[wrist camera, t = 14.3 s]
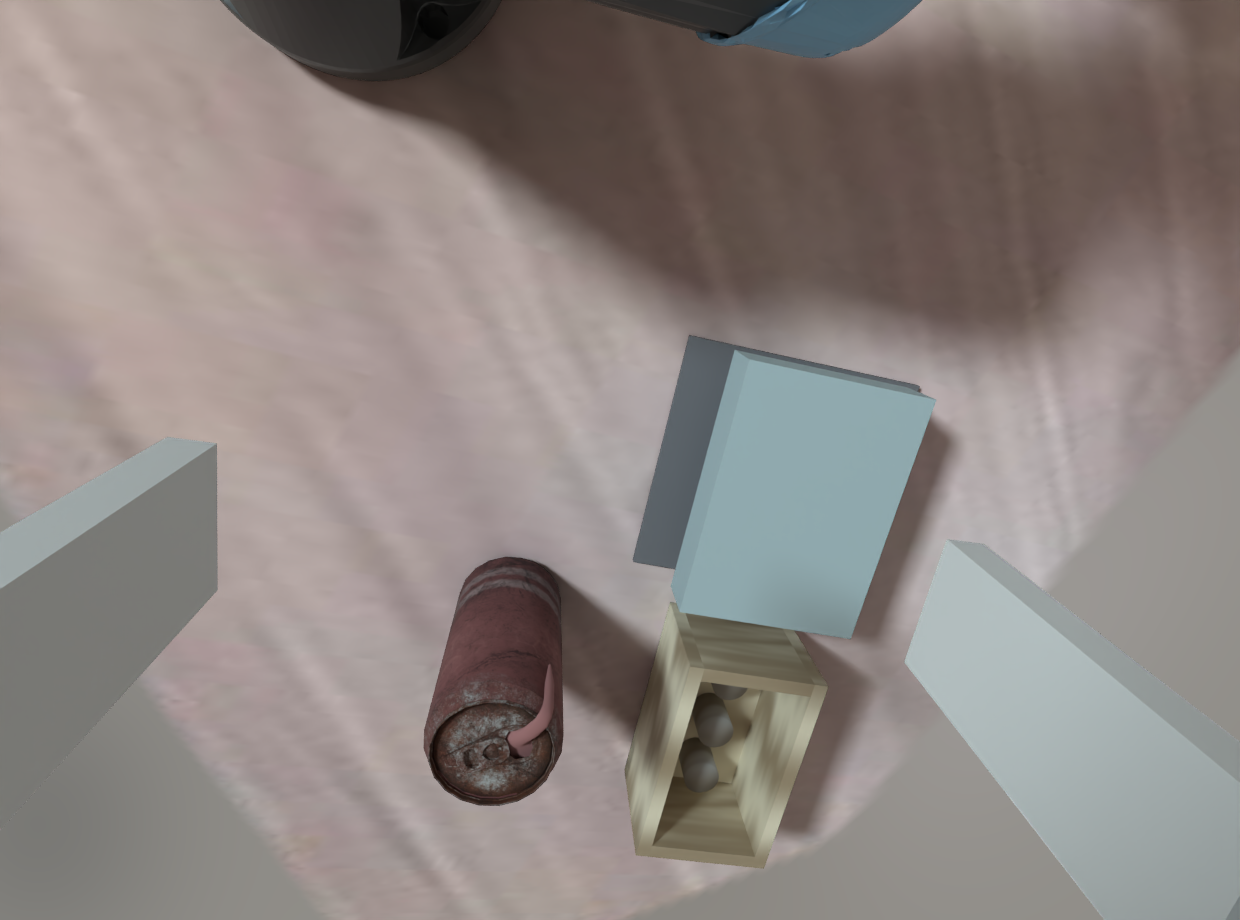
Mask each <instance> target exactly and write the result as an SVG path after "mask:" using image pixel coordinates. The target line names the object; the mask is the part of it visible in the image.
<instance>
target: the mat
mask: <svg viewBox="0 0 1240 920" xmlns="http://www.w3.org/2000/svg"><path fill="white" fill-rule="evenodd" d="M735 350H738V351H743V352H747V353H752V354H756V355H761V356H765V357H770V358H775V359H779V360H784V361H788V362H793V363H797V364H802V365H807V366H811V367H816V368H820V369H825V370H830V371H834V372H839V373H843V374H848V375H852V376H857V377H862V378H866V379H871V380H875V381H880V382H885V383H889V384H894V385H898V386H903V387H907V388H910V389H912V390H915V391H917V392H918V390H919V387H920V386H918V385H914V384H910V383H905V382H901V381H896V380H892V379H887V378H883V377H878V376H873V375H869V374H864V373H860V372H855V371H851V370H846V369H842V368H837V367H832V366H828V365H823V364H819V363H814V362H810V361H805V360H801V359H796V358H791V357H787V356H782V355H778V354H773V353H769V352H764V351H759V350H755V349H750V348H746V347H741V346H737V345H732V344H728V343H723V342H718V341H714V340H709V339H705V338H700V337H696V336H691V335H689V338H688V342H687V346H686V350H685V354H684V358H683V362H682V366H681V370H680V374H679V378H678V382H677V386H676V390H675V394H674V398H673V402H672V406H671V410H670V413H669V417H668V421H667V425H666V429H665V433H664V437H663V441H662V445H661V449H660V453H659V457H658V461H657V465H656V469H655V473H654V477H653V481H652V485H651V489H650V493H649V497H648V501H647V505H646V509H645V513H644V517H643V521H642V525H641V529H640V533H639V537H638V541H637V545H636V549H635V553H634V557H633V561H634V562H637V563H643V564H649V565H655V566H661V567H667V568H673V569H676V565H677V561H678V558H679V554H680V550H681V547H682V543H683V539H684V536H685V532H686V528H687V524H688V521H689V517H690V513H691V510H692V506H693V502H694V499H695V495H696V491H697V487H698V484H699V480H700V476H701V473H702V469H703V465H704V462H705V458H706V454H707V450H708V447H709V443H710V439H711V436H712V432H713V428H714V425H715V421H716V417H717V413H718V410H719V406H720V402H721V399H722V395H723V391H724V388H725V384H726V380H727V376H728V373H729V369H730V365H731V362H732V358H733V354H734V351H735Z"/></svg>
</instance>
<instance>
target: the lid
mask: <svg viewBox="0 0 1240 920" xmlns="http://www.w3.org/2000/svg"><path fill="white" fill-rule="evenodd" d="M935 402H936V400H935V399H933V398H931V397H928V396H926V395H924V394H922V393H919V392H917V391H915V390H912V389H910V388H907V387H903V386H898V385H894V384H889V383H885V382H880V381H875V380H871V379H866V378H862V377H857V376H852V375H848V374H843V373H839V372H834V371H830V370H825V369H820V368H816V367H811V366H807V365H802V364H797V363H793V362H788V361H784V360H779V359H775V358H770V357H765V356H761V355H756V354H752V353H747V352H743V351H738V350H735V351H734V354H733V358H732V362H731V365H730V369H729V373H728V376H727V380H726V384H725V388H724V391H723V395H722V399H721V402H720V406H719V410H718V413H717V417H716V421H715V425H714V428H713V432H712V436H711V439H710V443H709V447H708V450H707V454H706V458H705V462H704V465H703V469H702V473H701V476H700V480H699V484H698V487H697V491H696V495H695V499H694V502H693V506H692V510H691V513H690V517H689V521H688V524H687V528H686V532H685V536H684V539H683V543H682V547H681V550H680V554H679V558H678V561H677V565H676V569H675V572H674V576H673V580H672V584H671V588H672V591H673V594H674V597H675V600H676V603H677V606H678V609H679V612H682V613H689V614H695V615H701V616H708V617H714V618H720V619H727V620H733V621H739V622H745V623H752V624H758V625H764V626H771V627H777V628H783V629H790V630H796V631H802V632H809V633H815V634H821V635H828V636H834V637H840V638H847V639H851V636H852V634H853V631H854V628H855V625H856V622H857V620H858V617H859V614H860V611H861V608H862V606H863V603H864V600H865V597H866V594H867V592H868V589H869V586H870V583H871V581H872V578H873V575H874V572H875V569H876V567H877V564H878V561H879V558H880V555H881V553H882V550H883V547H884V544H885V541H886V539H887V536H888V533H889V530H890V528H891V525H892V522H893V519H894V516H895V514H896V511H897V508H898V505H899V502H900V500H901V497H902V494H903V491H904V488H905V486H906V483H907V480H908V477H909V475H910V472H911V469H912V466H913V463H914V461H915V458H916V455H917V452H918V449H919V447H920V444H921V441H922V438H923V436H924V433H925V430H926V427H927V424H928V422H929V419H930V416H931V413H932V410H933V408H934V405H935Z"/></svg>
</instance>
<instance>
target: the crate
mask: <svg viewBox="0 0 1240 920" xmlns="http://www.w3.org/2000/svg"><path fill="white" fill-rule="evenodd" d="M827 690H828V685H827V684H826V682H825V680H824V679H823V677H822V675H821V674H820V672H819V670H818V669H817V667H816V665H815V664H814V662H813V660H812V659H811V657H810V655H809V654H808V652H807V651H806V649H805V647H804V646H803V644H802V642H801V641H800V639H799V637H798V636H797V634H796V632H795V631H794V630H790V629H783V628H777V627H771V626H764V625H758V624H752V623H745V622H739V621H733V620H727V619H720V618H714V617H708V616H701V615H695V614H689V613H682V612H679V609H678V606H677V603H671V602H670V605H669V608H668V612H667V616H666V619H665V623H664V627H663V630H662V634H661V638H660V641H659V645H658V649H657V652H656V656H655V660H654V663H653V667H652V671H651V674H650V678H649V682H648V686H647V689H646V693H645V697H644V700H643V704H642V708H641V711H640V715H639V719H638V722H637V726H636V730H635V733H634V737H633V741H632V744H631V748H630V752H629V755H628V759H627V763H626V766H625V777H626V785H627V792H628V800H629V807H630V815H631V823H632V830H633V838H634V845H635V853H636V855H638V856H648V857H657V858H667V859H677V860H686V861H696V862H706V863H715V864H725V865H735V866H744V867H754V868H764V866H765V864H766V861H767V858H768V855H769V852H770V850H771V847H772V844H773V841H774V838H775V836H776V833H777V830H778V827H779V824H780V822H781V819H782V816H783V813H784V810H785V808H786V805H787V802H788V799H789V796H790V793H791V791H792V788H793V785H794V782H795V779H796V777H797V774H798V771H799V768H800V765H801V763H802V760H803V757H804V754H805V751H806V749H807V746H808V743H809V740H810V737H811V735H812V732H813V729H814V726H815V723H816V721H817V718H818V715H819V712H820V709H821V707H822V704H823V701H824V698H825V695H826V692H827Z"/></svg>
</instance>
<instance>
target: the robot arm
mask: <svg viewBox="0 0 1240 920" xmlns="http://www.w3.org/2000/svg"><path fill="white" fill-rule="evenodd" d="M220 1H221V2H222V3H223V4H224V5H225V6H226V7H227V8H228V10H229V11H230V12H231V13H232V14H234V15H235V16H236V17H237V18H238V19H239V20H240V21H241V22H242V23H243V24H244V25H246V26H247V27H248V28H249V29H250V30H252V31H253V32H254V33H256V34H257V35H258V36H260V37H261V38H262V39H264V40H265V41H267V42H268V43H270V44H271V45H273V46H274V47H276V48H277V49H279V50H280V51H282V52H283V53H285V54H286V55H288V56H290V57H291V58H293V59H295V60H297V61H299V62H301V63H303V64H305V65H307V66H309V67H311V68H314V69H316V70H319V71H322V72H324V73H328V74H331V75H335V76H339V77H343V78H348V79H355V80H365V81H385V80H394V79H400V78H405V77H409V76H413V75H416V74H420V73H422V72H425V71H427V70H430V69H432V68H434V67H436V66H438V65H440V64H442V63H444V62H445V61H447V60H449V59H450V58H452V57H453V56H455V55H456V54H457V53H459V52H460V51H461V50H462V49H464V48H465V47H466V46H467V45H468V44H469V43H470V42H471V41H472V40H473V39H474V38H475V37H476V36H477V35H478V34H479V33H480V32H481V31H482V29H483V28H484V27H485V26H486V24H487V23H488V22H489V20H490V19H491V17H492V16H493V14H494V13H495V11H496V9H497V8H498V6H499V4H500V2H501V0H220ZM586 1H589V2H593V3H597V4H600V5H604V6H607V7H611V8H614V9H618V10H622V11H625V12H629V13H632V14H636V15H639V16H643V17H647V18H650V19H654V20H657V21H661V22H664V23H668V24H672V25H675V26H679V27H682V28H686V29H689V30H693V31H696V33H697V35H698V38H700V39H701V40H703V41H705V42H708V43H711V44H714V45H718V46H730V45H739V44H747V45H751V46H756V47H760V48H765V49H769V50H774V51H778V52H783V53H787V54H791V55H796V56H801V57H807V58H825V57H830V56H833V55H835V54H838V53H840V52H842V51H847V50H850V49H852V48H854V47H859V46H862V45H864V44H866V43H868V42H870V41H872V40H873V39H875V38H877V37H878V36H880V35H881V34H883V33H884V32H885V31H887V30H888V29H889V28H891V27H892V26H893V25H895V24H896V23H897V22H899V21H900V20H901V19H902V18H903V17H905V16H906V15H907V14H908V13H909V12H910V11H911V10H912V9H914V8H915V7H916V6H917V5H918V4H919V3H920V2H921V1H922V0H586ZM217 590H218V588H217V443H210V442H202V441H194V440H187V439H179V438H171V437H167V438H165V439H163V440H161V441H159V442H158V443H156V444H154V445H152V446H151V447H149V448H147V449H145V450H144V451H142V452H140V453H138V454H137V455H135V456H133V457H131V458H130V459H128V460H126V461H124V462H123V463H121V464H119V465H117V466H116V467H114V468H112V469H110V470H109V471H107V472H105V473H103V474H102V475H100V476H98V477H96V478H95V479H93V480H91V481H89V482H88V483H86V484H84V485H82V486H81V487H79V488H77V489H75V490H74V491H72V492H70V493H68V494H67V495H65V496H63V497H61V498H60V499H58V500H56V501H54V502H53V503H51V504H49V505H47V506H46V507H44V508H42V509H40V510H39V511H37V512H35V513H33V514H31V515H30V516H28V517H26V518H24V519H23V520H21V521H19V522H17V523H16V524H14V525H12V526H10V527H9V528H7V529H5V530H3V531H2V532H0V830H1V829H2V828H3V826H4V825H5V824H6V823H7V822H8V821H9V820H10V819H11V818H12V817H13V815H14V814H15V813H16V812H17V811H18V810H19V809H20V808H21V807H22V805H23V804H24V803H25V802H26V801H27V800H28V799H29V798H30V797H31V796H32V794H33V793H34V792H35V791H36V790H37V789H38V788H39V787H40V786H41V784H42V783H43V782H44V781H45V780H46V779H47V778H48V777H49V776H50V775H51V773H52V772H53V771H54V770H55V769H56V768H57V767H58V766H59V765H60V763H61V762H62V761H63V760H64V759H65V758H66V757H67V756H68V755H69V754H70V752H71V751H72V750H73V749H74V748H75V747H76V746H77V745H78V744H79V743H80V741H81V740H82V739H83V738H84V737H85V736H86V735H87V734H88V732H89V731H90V730H91V729H92V728H93V727H94V726H95V725H96V724H97V722H98V721H99V720H100V719H101V718H102V717H103V716H104V715H105V714H106V713H107V712H108V710H109V709H110V708H111V707H112V706H113V705H114V704H115V703H116V702H117V700H118V699H119V698H120V697H121V696H122V695H123V694H124V693H125V692H126V691H127V689H128V688H129V687H130V686H131V685H132V684H133V683H134V682H135V681H136V680H137V678H138V677H139V676H140V675H141V674H142V673H143V672H144V671H145V670H146V669H147V667H148V666H149V665H150V664H151V663H152V662H153V661H154V660H155V659H156V657H157V656H158V655H159V654H160V653H161V652H162V651H163V650H164V649H165V648H166V646H167V645H168V644H169V643H170V642H171V641H172V640H173V639H174V638H175V636H176V635H177V634H178V633H179V632H180V631H181V630H182V629H183V628H184V627H185V625H186V624H187V623H188V622H189V621H190V620H191V619H192V618H193V617H194V615H195V614H196V613H197V612H198V611H199V610H200V609H201V608H202V607H203V606H204V604H205V603H206V602H207V601H208V600H209V599H210V598H211V597H212V596H213V594H214V593H215V592H216V591H217ZM904 662H905V664H906V665H907V666H908V668H909V669H910V670H911V671H912V673H913V674H914V675H915V677H916V678H917V679H918V680H919V682H920V683H921V684H922V686H923V687H924V688H925V689H926V691H927V692H928V693H929V695H930V696H931V697H932V699H933V700H934V701H935V702H936V704H937V705H938V706H939V708H940V709H941V710H942V711H943V713H944V714H945V715H946V717H947V718H948V719H949V720H950V722H951V723H952V724H953V725H954V727H955V728H956V729H957V731H958V732H959V733H960V735H961V736H962V737H963V738H964V740H965V741H966V742H967V744H968V745H969V746H970V747H971V749H972V750H973V751H974V753H975V754H976V755H977V756H978V758H979V759H980V760H981V762H982V763H983V764H984V766H985V767H986V768H987V769H988V771H989V772H990V773H991V775H992V776H993V777H994V778H995V780H996V781H997V782H998V783H999V785H1000V786H1001V787H1002V789H1003V790H1004V791H1005V793H1006V794H1007V795H1008V796H1009V798H1010V799H1011V800H1012V802H1013V803H1014V804H1015V806H1016V807H1017V808H1018V809H1019V811H1020V812H1021V813H1022V814H1023V816H1024V817H1025V818H1026V820H1027V821H1028V822H1029V823H1030V825H1031V826H1032V827H1033V829H1034V830H1035V831H1036V833H1037V834H1038V835H1039V836H1040V838H1041V839H1042V840H1043V841H1044V843H1045V844H1046V845H1047V847H1048V848H1049V849H1050V851H1051V852H1052V853H1053V854H1054V856H1055V857H1056V858H1057V860H1058V861H1059V862H1060V864H1061V865H1062V866H1063V867H1064V869H1065V870H1066V871H1067V872H1068V874H1069V875H1070V876H1071V878H1072V879H1073V880H1074V882H1075V883H1076V884H1077V885H1078V887H1079V888H1080V889H1081V891H1082V892H1083V893H1084V894H1085V896H1086V897H1087V898H1088V899H1089V901H1090V902H1091V903H1092V905H1093V906H1094V907H1095V908H1096V910H1097V911H1098V912H1099V914H1100V915H1101V916H1102V918H1103V919H1104V920H1240V741H1238V740H1237V739H1235V738H1234V737H1233V736H1232V735H1231V734H1229V733H1228V732H1227V731H1225V730H1224V729H1223V728H1221V727H1220V726H1219V725H1218V724H1216V723H1215V722H1214V721H1212V720H1211V719H1210V718H1209V717H1207V716H1206V715H1205V714H1203V713H1202V712H1201V711H1199V710H1198V709H1196V707H1194V706H1193V705H1192V704H1190V703H1189V702H1188V701H1186V700H1185V699H1184V698H1183V697H1181V696H1180V695H1178V694H1177V693H1176V692H1175V691H1173V690H1172V689H1171V688H1170V687H1168V686H1167V685H1166V684H1164V683H1163V682H1162V681H1161V680H1159V679H1158V678H1157V677H1155V676H1154V675H1153V674H1152V673H1150V672H1149V671H1148V670H1146V669H1145V668H1144V667H1142V666H1141V665H1140V664H1139V663H1137V662H1136V661H1135V660H1133V659H1132V658H1131V657H1129V656H1128V655H1127V654H1125V653H1124V652H1123V651H1122V650H1120V649H1119V648H1118V647H1117V646H1115V645H1114V644H1113V643H1111V642H1110V641H1109V640H1107V639H1106V638H1105V637H1104V636H1102V635H1101V634H1099V633H1098V632H1097V631H1096V630H1095V629H1093V628H1092V627H1091V626H1089V625H1088V624H1087V623H1085V622H1084V621H1083V620H1081V619H1080V618H1079V617H1078V616H1076V615H1075V614H1074V613H1073V612H1071V611H1070V610H1069V609H1067V608H1066V607H1064V606H1063V605H1062V604H1061V603H1060V602H1058V601H1057V600H1056V599H1054V598H1053V597H1052V596H1050V595H1049V594H1048V593H1047V592H1045V591H1044V590H1043V589H1041V588H1040V587H1039V586H1038V585H1036V584H1035V583H1034V582H1032V581H1031V580H1030V579H1028V578H1027V577H1026V576H1025V575H1023V574H1022V573H1021V572H1019V571H1018V570H1017V569H1016V568H1014V567H1013V566H1012V565H1010V564H1009V563H1008V562H1006V561H1005V560H1004V559H1003V558H1001V557H1000V556H999V555H997V554H996V553H995V552H993V551H992V550H991V549H990V548H988V547H987V546H986V545H984V544H980V543H972V542H964V541H957V540H949V539H947V541H946V544H945V547H944V549H943V552H942V555H941V558H940V561H939V564H938V567H937V570H936V572H935V575H934V578H933V581H932V584H931V587H930V590H929V593H928V595H927V598H926V601H925V604H924V607H923V610H922V613H921V615H920V618H919V621H918V624H917V627H916V630H915V633H914V636H913V638H912V641H911V644H910V647H909V650H908V653H907V656H906V659H905V661H904Z"/></svg>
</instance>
